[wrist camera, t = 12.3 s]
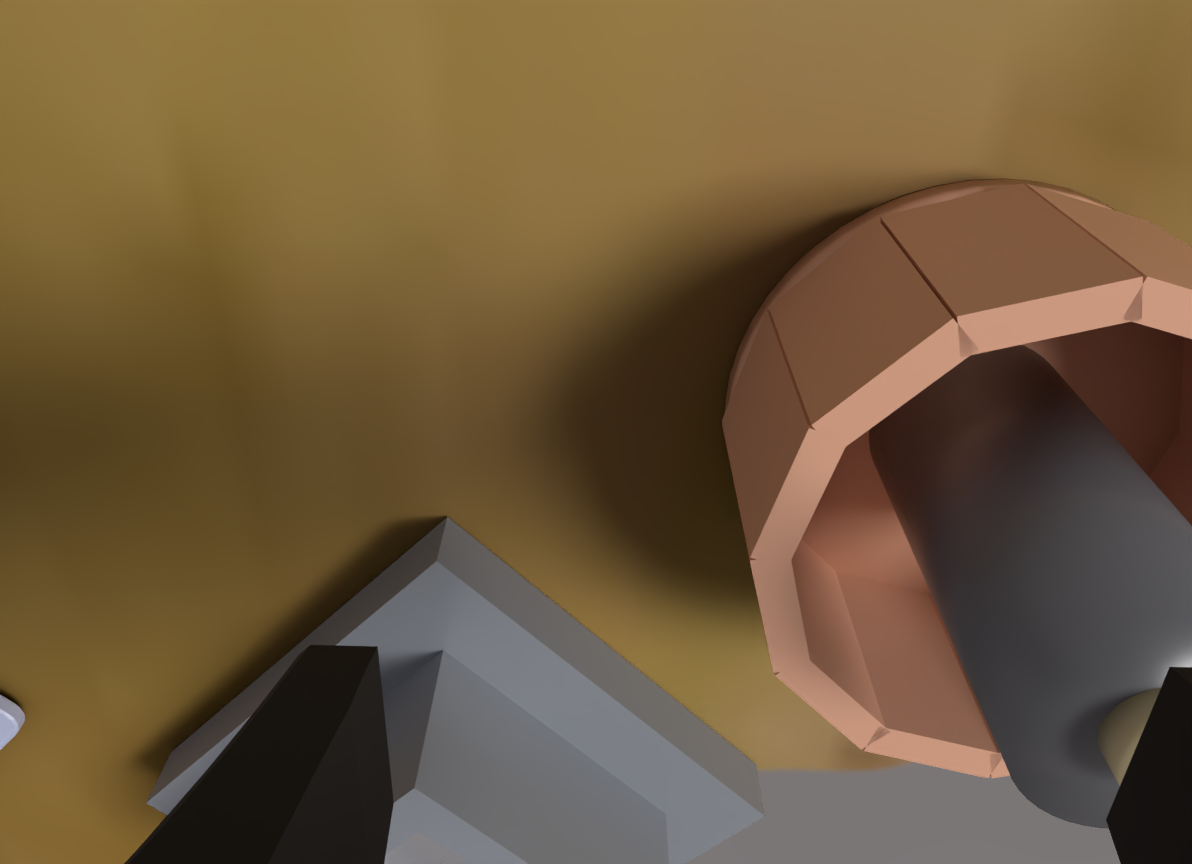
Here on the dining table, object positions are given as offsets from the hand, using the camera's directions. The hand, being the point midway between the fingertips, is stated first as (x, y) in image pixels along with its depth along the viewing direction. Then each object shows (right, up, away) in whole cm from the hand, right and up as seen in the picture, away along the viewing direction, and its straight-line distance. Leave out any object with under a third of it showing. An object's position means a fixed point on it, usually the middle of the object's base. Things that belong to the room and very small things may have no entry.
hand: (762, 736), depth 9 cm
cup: (+5, +3, +10) cm, 12 cm away
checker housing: (-5, -5, +15) cm, 16 cm away
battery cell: (+5, +3, +9) cm, 11 cm away
